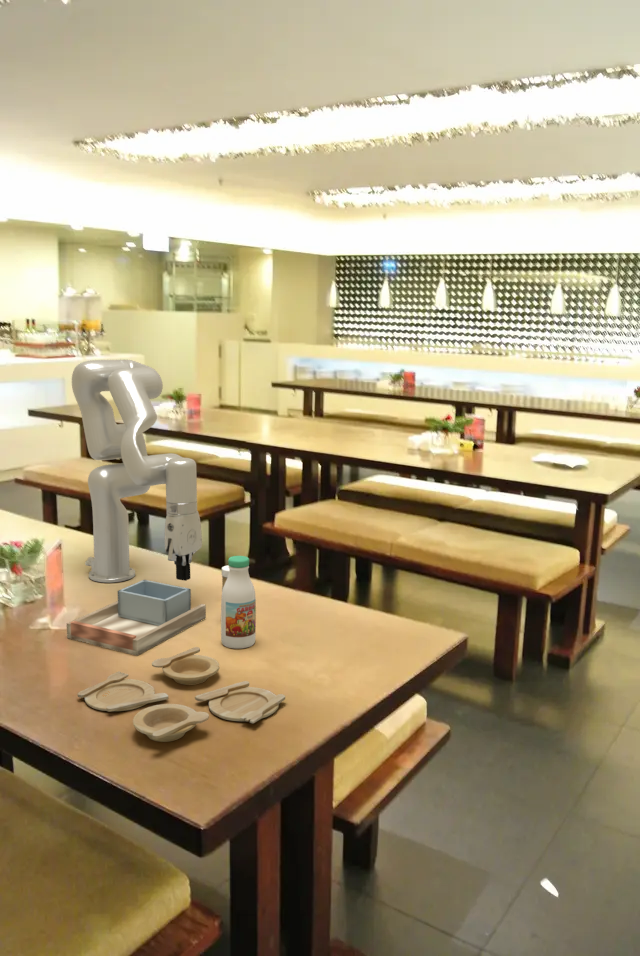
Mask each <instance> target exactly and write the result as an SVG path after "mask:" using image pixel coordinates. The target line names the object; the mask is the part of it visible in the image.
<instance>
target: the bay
mask: <svg viewBox="0 0 640 956" xmlns="http://www.w3.org/2000/svg"><path fill="white" fill-rule="evenodd" d="M206 614H207V606H206V604H203V603H200V604H198V605H196V606H195V607H193V608H191V610H189V611H187V612H185V613H183V614H181V615H179V616H177V617H175V618H173V619H171V620H170V621H168V622H166V623H164V624H162V625H160V626H158V625H154V624H149V623H145V622H141V621H136V620H132V619H128V618H123V617H119V616H118V600H117V601H115V602H112V603H110V604H108V605H105V606H103V607H100V608H99V609H96V610H94V611H92V612H90V613H87V614H85V615H82V616H80V617H78V618H76V619H74V620H72V621H69V622H67V623H66V638H67V639H70V640H73V641H77V640H78V641H77V642H81V641H82V642H81V643H84V642H86V644H88V643H90V644H89V645H92V644H93V646H96V647H101V648H103V649H108V650H113V651H117V652H121V653H125V654H129V655H133V656H136V657H138V656H140V655H142V654H143V653H145V652H147V651H149V650H150V649H152V648H155V647H156V646H158V645H160V644H162V643H163V642H166V641H167V640H169V639H171V638H172V637H175V636H176V635H179V634H180V633H182V632H183V630H184V631H185V629H186V630H187V629H189V628H191V627H193V626H195V625H196V624H198V623H200V622H202V621H204V620H205V618H207V615H206ZM203 619H204V620H203ZM201 620H202V621H201ZM194 624H195V625H194ZM192 625H193V626H192ZM190 626H191V627H190ZM188 627H189V628H188ZM181 631H182V632H181ZM179 632H180V633H179ZM174 635H175V636H174Z"/></svg>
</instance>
